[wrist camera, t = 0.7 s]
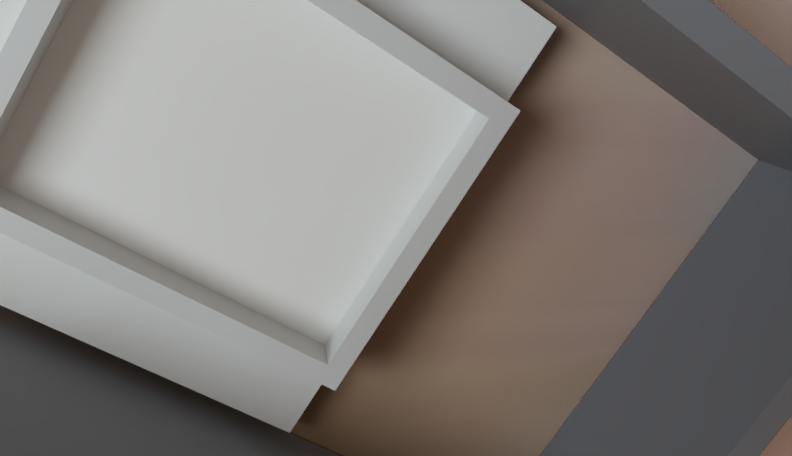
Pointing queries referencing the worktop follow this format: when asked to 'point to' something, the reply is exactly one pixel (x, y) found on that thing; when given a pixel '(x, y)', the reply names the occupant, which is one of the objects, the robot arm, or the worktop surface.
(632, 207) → the worktop surface
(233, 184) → the tray
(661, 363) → the dock
